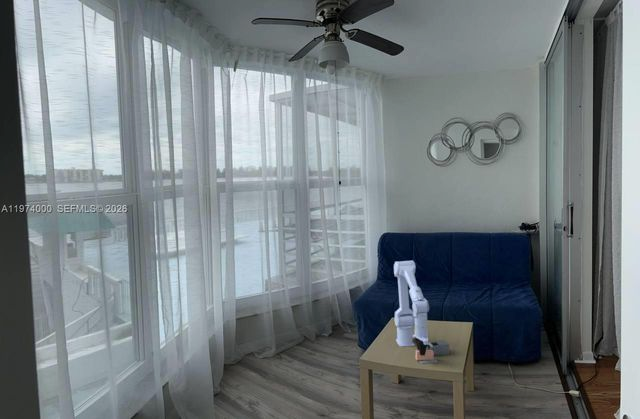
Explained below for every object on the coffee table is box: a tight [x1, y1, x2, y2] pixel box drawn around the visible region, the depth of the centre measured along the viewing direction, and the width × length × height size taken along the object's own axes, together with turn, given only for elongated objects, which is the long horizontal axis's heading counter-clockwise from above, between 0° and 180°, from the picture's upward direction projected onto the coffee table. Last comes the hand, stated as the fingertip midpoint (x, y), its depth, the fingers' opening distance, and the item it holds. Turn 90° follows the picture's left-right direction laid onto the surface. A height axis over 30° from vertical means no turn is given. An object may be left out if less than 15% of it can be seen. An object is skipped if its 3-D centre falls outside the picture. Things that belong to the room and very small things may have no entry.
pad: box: [418, 356, 439, 365], centre depth 202 cm, size 7×8×1 cm
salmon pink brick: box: [415, 349, 435, 361], centre depth 202 cm, size 2×8×4 cm, turn 95°
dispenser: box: [426, 339, 450, 357], centre depth 209 cm, size 6×9×5 cm, turn 95°
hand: (421, 354), depth 201 cm, fingers closed on salmon pink brick, 2 cm apart
